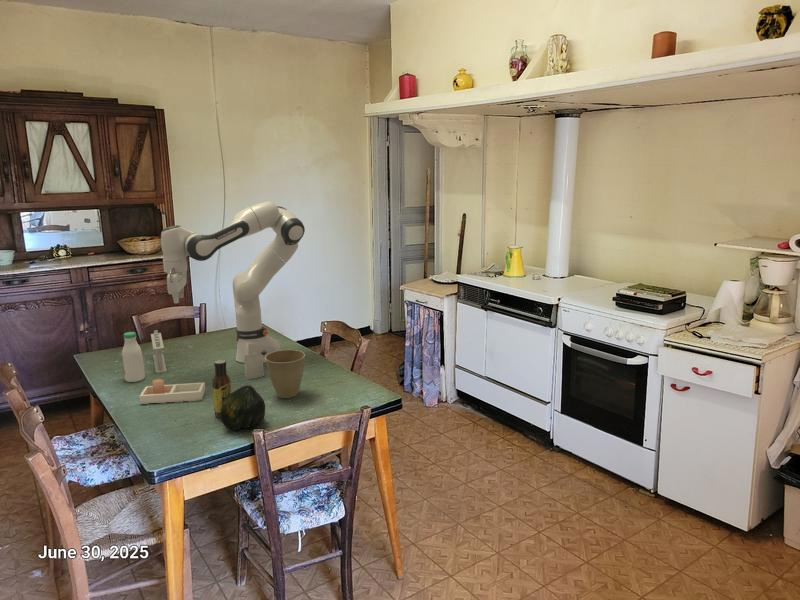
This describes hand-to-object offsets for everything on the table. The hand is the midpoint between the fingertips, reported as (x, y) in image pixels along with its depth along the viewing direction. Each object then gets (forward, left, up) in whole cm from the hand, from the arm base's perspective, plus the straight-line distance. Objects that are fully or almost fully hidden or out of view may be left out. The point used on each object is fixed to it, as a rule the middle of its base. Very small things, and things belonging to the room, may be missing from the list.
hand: (178, 300), depth 246 cm
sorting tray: (+1, +22, -33) cm, 40 cm away
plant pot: (-42, +28, -33) cm, 60 cm away
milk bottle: (+21, -2, -33) cm, 39 cm away
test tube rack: (+15, -20, -34) cm, 42 cm away
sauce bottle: (-20, +42, -33) cm, 57 cm away
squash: (-28, +52, -33) cm, 68 cm away
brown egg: (+6, +22, -32) cm, 39 cm away
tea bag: (-28, +5, -33) cm, 44 cm away
